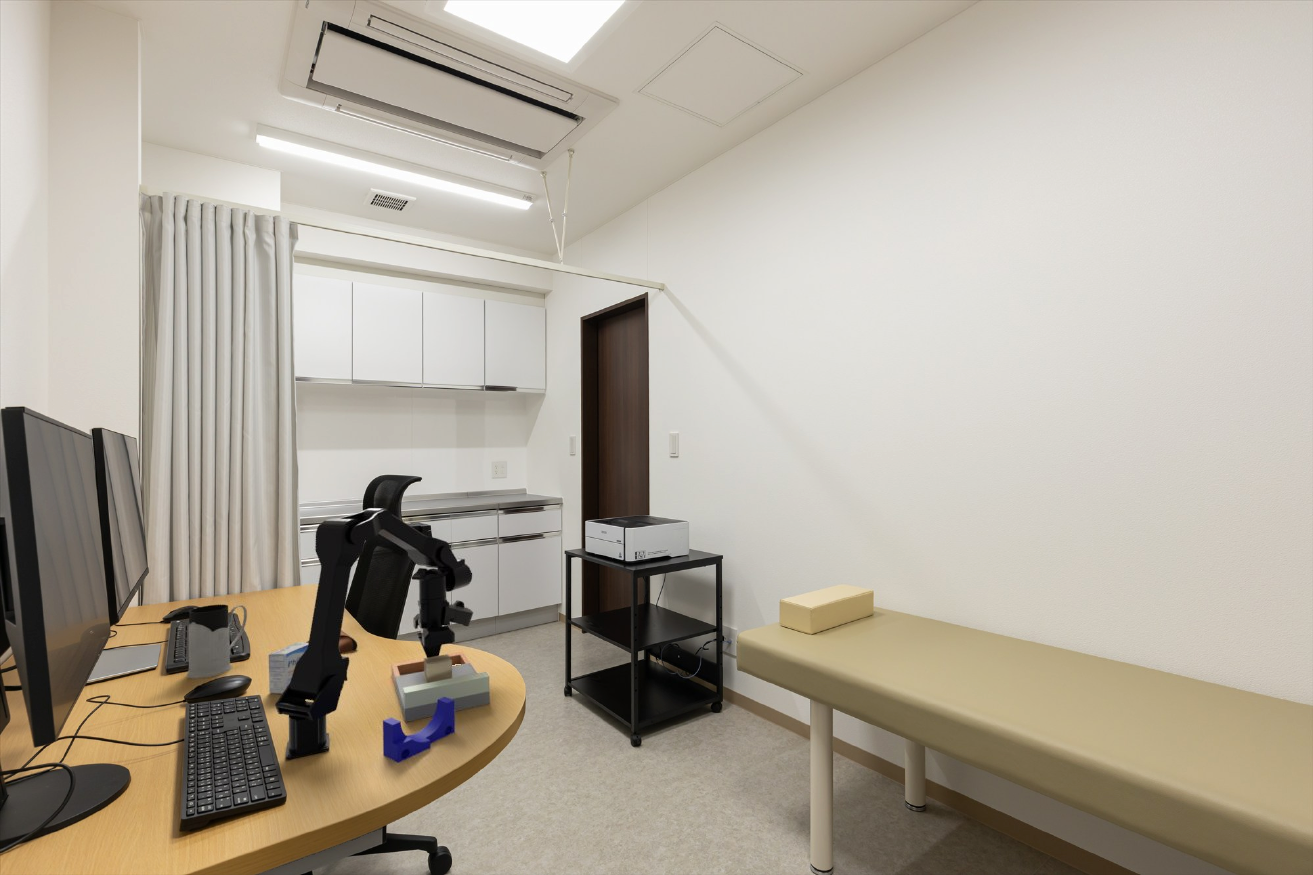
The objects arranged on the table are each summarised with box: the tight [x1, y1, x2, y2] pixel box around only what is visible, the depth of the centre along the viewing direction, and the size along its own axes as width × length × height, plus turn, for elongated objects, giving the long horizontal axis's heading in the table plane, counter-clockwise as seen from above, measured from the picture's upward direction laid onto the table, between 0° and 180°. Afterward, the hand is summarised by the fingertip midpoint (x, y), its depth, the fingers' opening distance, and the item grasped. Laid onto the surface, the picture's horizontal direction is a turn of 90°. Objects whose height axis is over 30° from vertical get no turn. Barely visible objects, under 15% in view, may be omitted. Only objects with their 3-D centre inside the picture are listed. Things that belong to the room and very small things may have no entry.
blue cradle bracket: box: [382, 697, 456, 764], centre depth 106 cm, size 12×4×6 cm, turn 143°
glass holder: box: [186, 604, 248, 679], centre depth 147 cm, size 9×14×15 cm, turn 166°
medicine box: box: [268, 642, 308, 695], centre depth 134 cm, size 8×4×9 cm, turn 168°
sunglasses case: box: [305, 629, 358, 654], centre depth 162 cm, size 18×7×7 cm
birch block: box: [424, 653, 452, 683], centre depth 131 cm, size 5×5×4 cm
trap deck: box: [390, 651, 491, 723], centre depth 131 cm, size 28×16×6 cm, turn 29°
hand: (433, 666), depth 135 cm, fingers closed
